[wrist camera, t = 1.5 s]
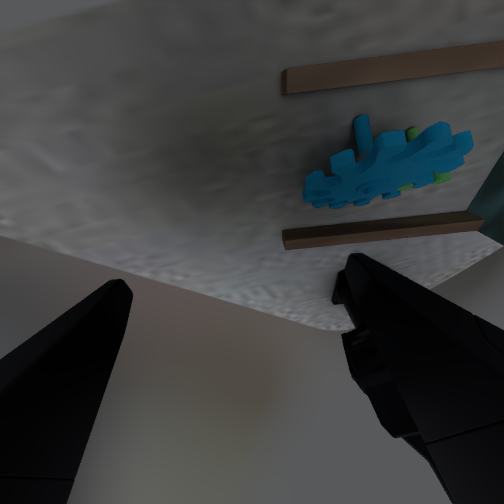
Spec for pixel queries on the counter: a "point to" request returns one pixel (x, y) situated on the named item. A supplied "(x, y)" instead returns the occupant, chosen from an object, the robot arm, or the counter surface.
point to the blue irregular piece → (387, 164)
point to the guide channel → (390, 69)
